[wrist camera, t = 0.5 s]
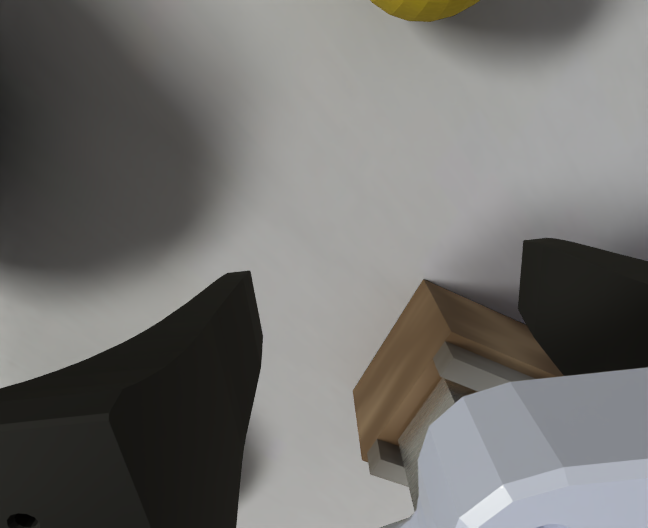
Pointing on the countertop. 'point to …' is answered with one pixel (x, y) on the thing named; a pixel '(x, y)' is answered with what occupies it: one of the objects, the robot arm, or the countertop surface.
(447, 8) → the lemon
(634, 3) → the countertop surface
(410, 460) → the plunger
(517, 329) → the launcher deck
